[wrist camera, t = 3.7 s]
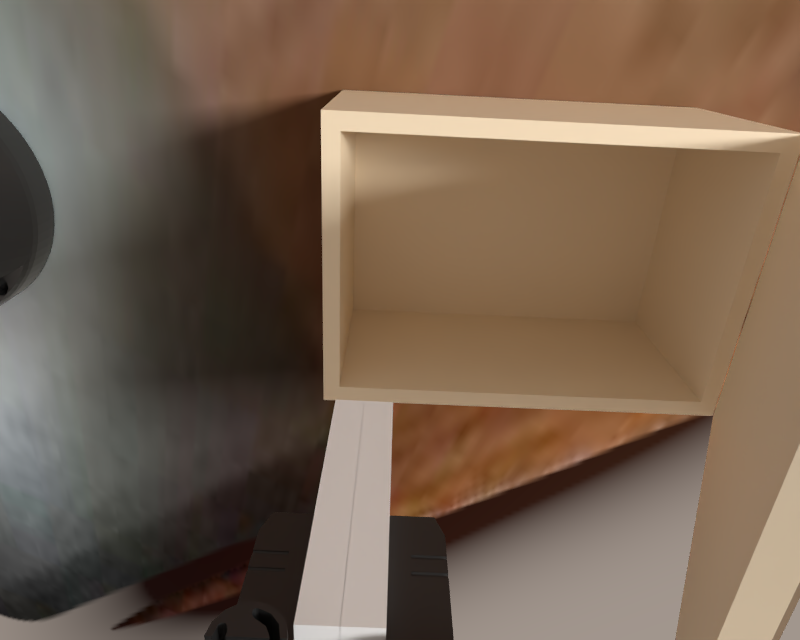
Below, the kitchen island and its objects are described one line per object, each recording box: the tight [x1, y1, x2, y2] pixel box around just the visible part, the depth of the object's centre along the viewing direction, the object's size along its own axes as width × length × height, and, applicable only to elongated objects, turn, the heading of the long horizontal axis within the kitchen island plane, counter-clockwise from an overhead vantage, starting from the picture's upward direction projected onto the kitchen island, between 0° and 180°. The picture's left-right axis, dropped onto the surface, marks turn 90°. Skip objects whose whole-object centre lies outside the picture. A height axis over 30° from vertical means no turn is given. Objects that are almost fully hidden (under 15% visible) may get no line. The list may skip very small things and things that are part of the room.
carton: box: [321, 90, 800, 416], centre depth 32 cm, size 20×14×10 cm
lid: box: [675, 158, 800, 640], centre depth 19 cm, size 20×14×1 cm
